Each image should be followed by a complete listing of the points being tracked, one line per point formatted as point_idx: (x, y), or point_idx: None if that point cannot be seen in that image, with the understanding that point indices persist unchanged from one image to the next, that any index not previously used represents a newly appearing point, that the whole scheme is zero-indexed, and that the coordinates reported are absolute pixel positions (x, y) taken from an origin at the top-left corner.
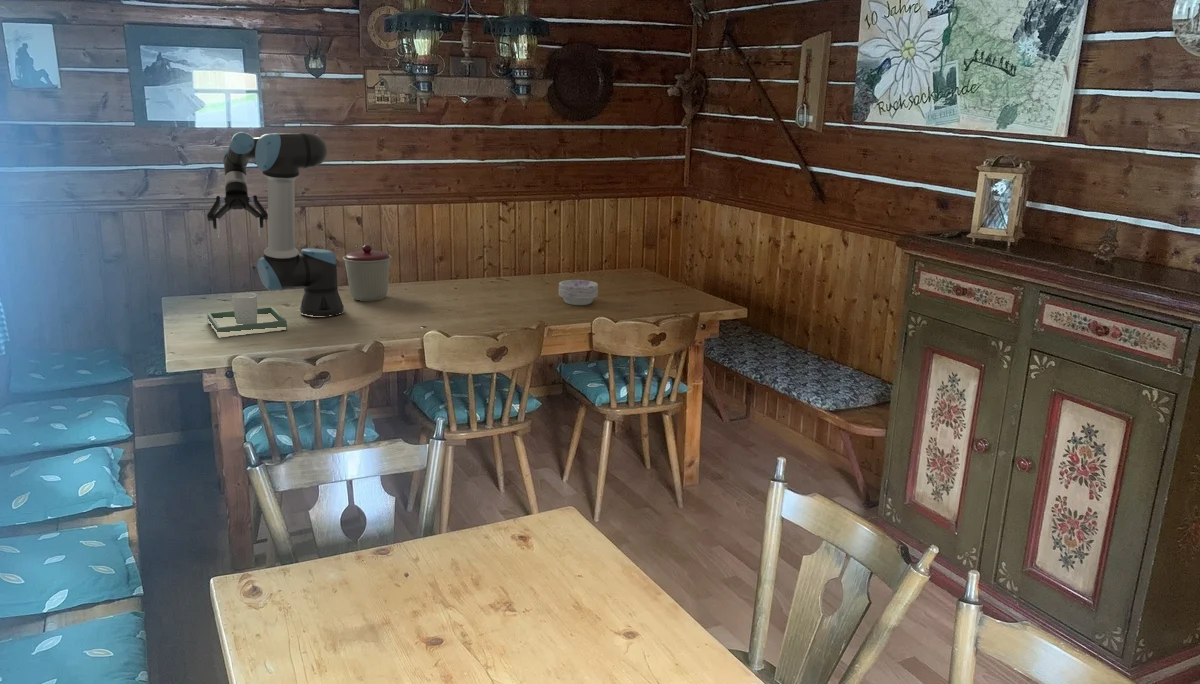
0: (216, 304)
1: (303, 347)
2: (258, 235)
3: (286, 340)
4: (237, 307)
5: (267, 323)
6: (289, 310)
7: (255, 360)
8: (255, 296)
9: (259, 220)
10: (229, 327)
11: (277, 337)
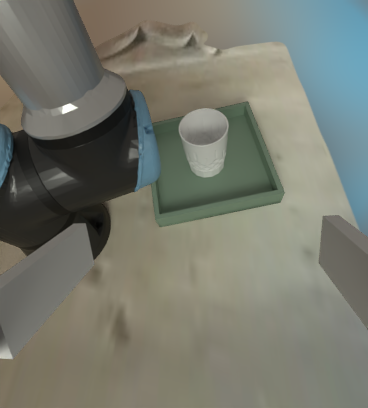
0: (297, 399)
1: (140, 72)
2: (92, 255)
3: (155, 97)
4: (218, 126)
5: (173, 119)
6: (123, 270)
7: (195, 40)
8: (182, 120)
9: (4, 273)
10: (230, 106)
11: (165, 109)
